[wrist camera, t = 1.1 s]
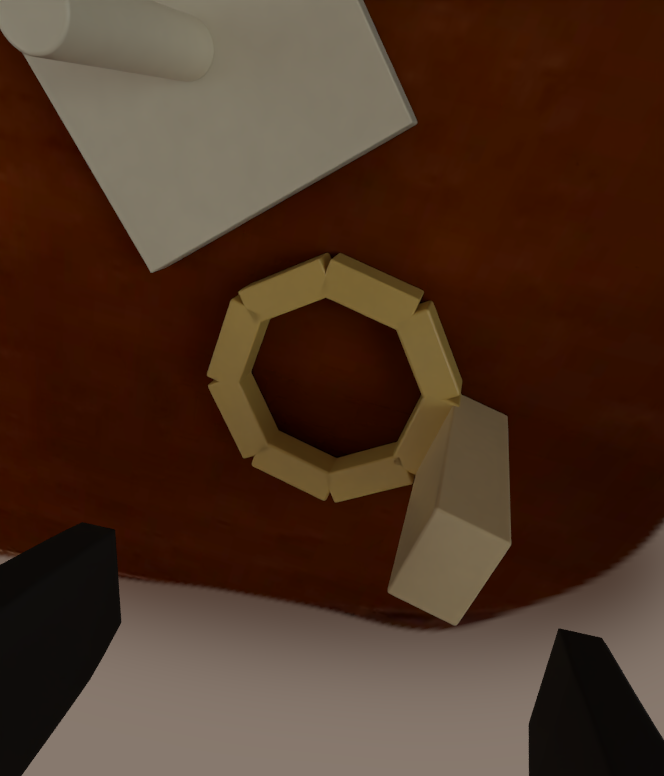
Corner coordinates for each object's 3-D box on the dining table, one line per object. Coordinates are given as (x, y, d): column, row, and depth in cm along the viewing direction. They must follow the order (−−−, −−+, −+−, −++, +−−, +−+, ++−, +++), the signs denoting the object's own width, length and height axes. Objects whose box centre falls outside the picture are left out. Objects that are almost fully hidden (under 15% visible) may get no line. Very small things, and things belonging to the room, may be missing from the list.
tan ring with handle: (549, 347, 16) (574, 454, 11) (436, 535, 19) (412, 693, 14) (267, 219, 17) (157, 260, 11) (200, 421, 20) (88, 529, 14)
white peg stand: (418, 123, 15) (366, 116, 9) (167, 266, 18) (8, 331, 12) (256, -239, 13) (62, -535, 7) (8, -11, 16) (-270, -92, 10)
